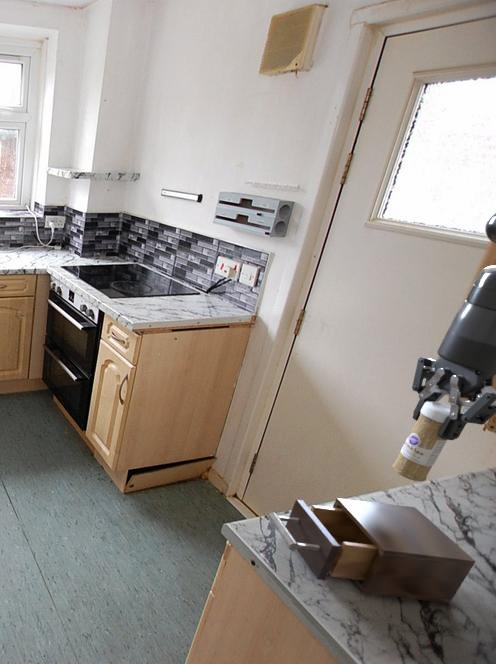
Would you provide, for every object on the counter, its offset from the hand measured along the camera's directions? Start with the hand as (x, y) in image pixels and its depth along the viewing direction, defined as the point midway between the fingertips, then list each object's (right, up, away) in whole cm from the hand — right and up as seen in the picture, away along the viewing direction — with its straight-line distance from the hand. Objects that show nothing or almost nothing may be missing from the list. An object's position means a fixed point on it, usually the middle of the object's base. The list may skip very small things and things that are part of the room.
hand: (432, 428), depth 76 cm
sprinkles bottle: (-1, -9, +3) cm, 10 cm away
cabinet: (-6, -25, +3) cm, 26 cm away
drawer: (-16, -23, +3) cm, 28 cm away
